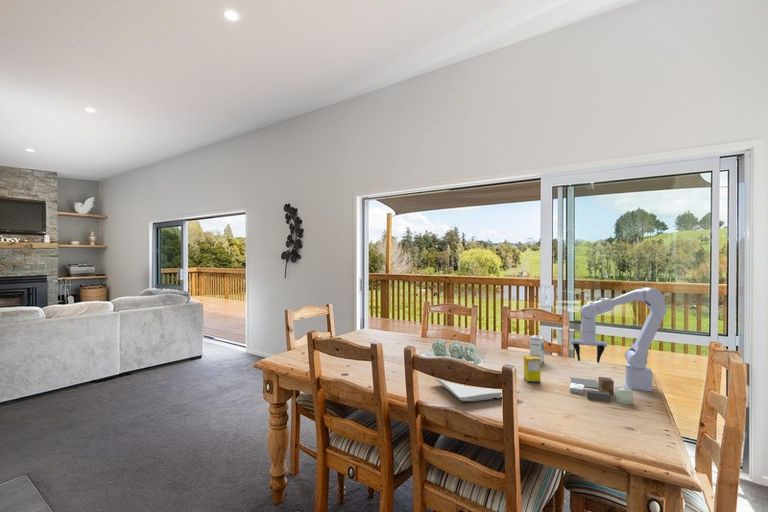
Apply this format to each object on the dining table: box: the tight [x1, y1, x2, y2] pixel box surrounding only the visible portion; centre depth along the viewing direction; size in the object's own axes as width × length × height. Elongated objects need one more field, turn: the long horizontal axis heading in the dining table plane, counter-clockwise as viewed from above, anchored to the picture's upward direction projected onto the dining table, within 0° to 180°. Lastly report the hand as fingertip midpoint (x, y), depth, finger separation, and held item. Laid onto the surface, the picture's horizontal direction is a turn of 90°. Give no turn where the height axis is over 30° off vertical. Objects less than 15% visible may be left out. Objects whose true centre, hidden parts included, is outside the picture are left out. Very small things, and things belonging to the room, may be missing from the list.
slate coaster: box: [569, 376, 598, 390], centre depth 168 cm, size 11×11×1 cm
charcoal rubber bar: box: [585, 388, 611, 402], centre depth 151 cm, size 8×3×3 cm, turn 67°
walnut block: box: [597, 376, 615, 396], centre depth 157 cm, size 4×4×6 cm
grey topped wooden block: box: [569, 382, 585, 395], centre depth 159 cm, size 7×5×2 cm
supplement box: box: [523, 355, 542, 384], centre depth 172 cm, size 6×6×11 cm
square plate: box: [434, 378, 520, 402], centre depth 160 cm, size 27×27×4 cm
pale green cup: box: [614, 386, 634, 406], centre depth 148 cm, size 6×6×5 cm
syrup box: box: [529, 335, 545, 366], centre depth 199 cm, size 6×6×14 cm
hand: (588, 361), depth 169 cm, fingers open, 7 cm apart
